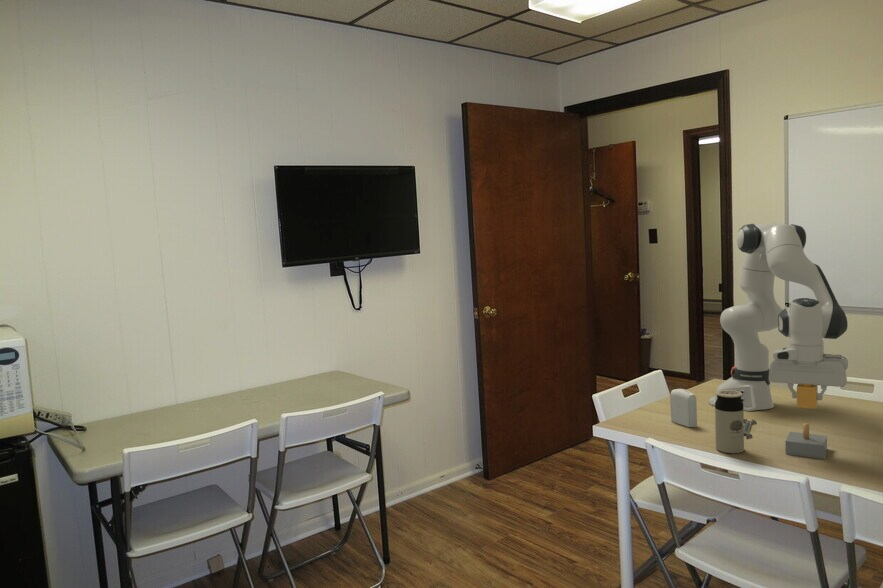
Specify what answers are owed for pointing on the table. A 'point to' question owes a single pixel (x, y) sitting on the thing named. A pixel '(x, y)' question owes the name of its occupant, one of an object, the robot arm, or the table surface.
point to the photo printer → (683, 407)
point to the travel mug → (729, 421)
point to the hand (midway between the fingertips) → (807, 398)
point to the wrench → (748, 428)
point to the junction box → (806, 444)
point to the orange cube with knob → (807, 396)
